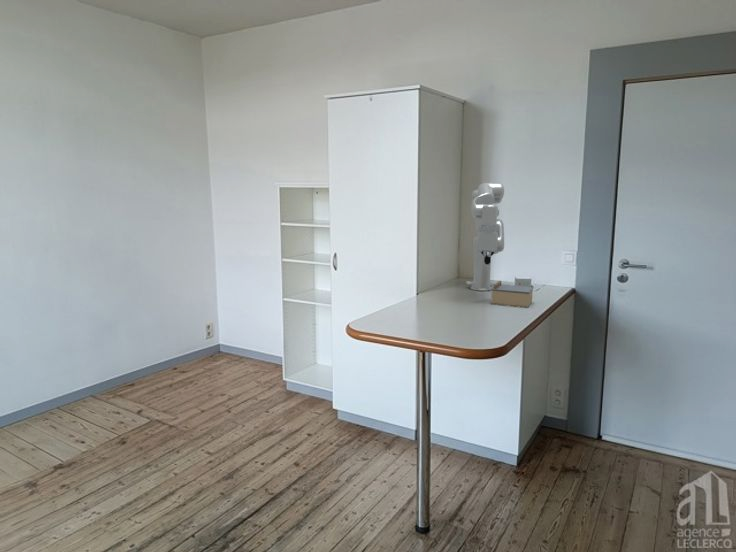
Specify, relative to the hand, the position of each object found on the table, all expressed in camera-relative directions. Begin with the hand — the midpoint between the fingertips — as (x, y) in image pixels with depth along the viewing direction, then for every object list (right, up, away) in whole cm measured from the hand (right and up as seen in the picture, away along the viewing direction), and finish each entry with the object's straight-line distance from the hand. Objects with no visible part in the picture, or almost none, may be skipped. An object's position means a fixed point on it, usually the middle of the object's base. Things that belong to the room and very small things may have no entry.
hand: (487, 264), depth 263 cm
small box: (+23, -18, +15) cm, 32 cm away
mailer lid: (+12, -13, -3) cm, 18 cm away
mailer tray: (+12, -20, -2) cm, 24 cm away
